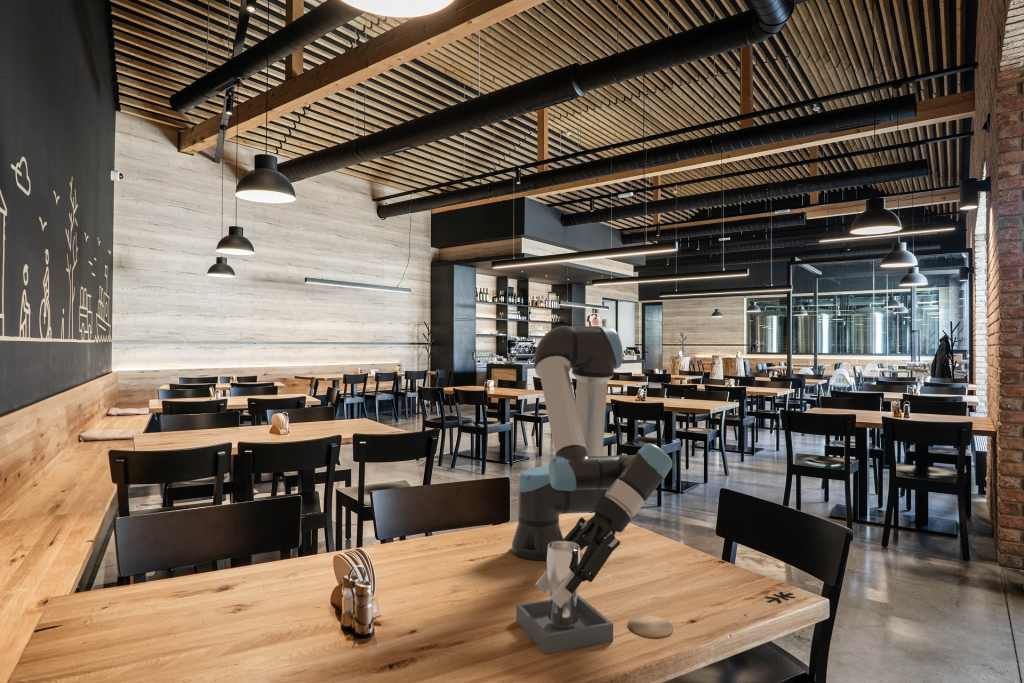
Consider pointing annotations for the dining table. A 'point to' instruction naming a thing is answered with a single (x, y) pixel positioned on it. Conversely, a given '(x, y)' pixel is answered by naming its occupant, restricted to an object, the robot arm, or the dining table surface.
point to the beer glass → (558, 568)
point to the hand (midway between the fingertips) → (547, 595)
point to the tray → (557, 638)
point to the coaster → (650, 626)
